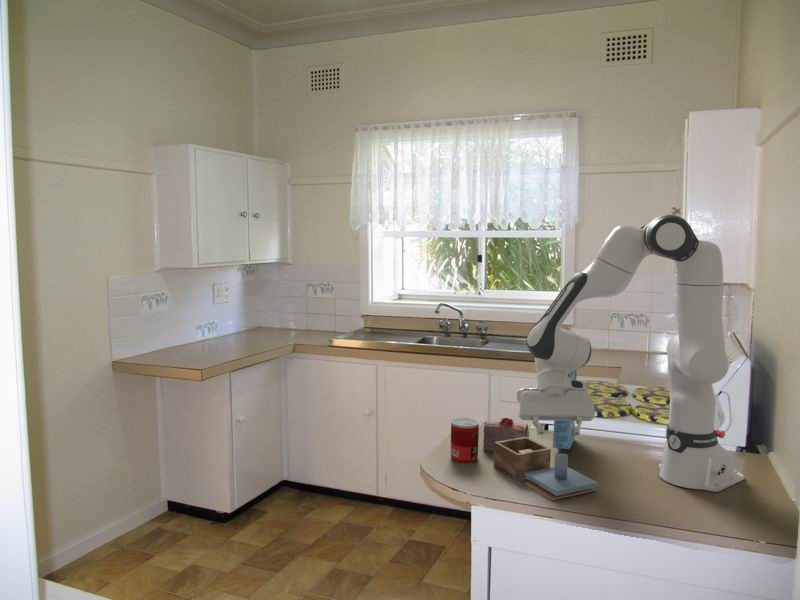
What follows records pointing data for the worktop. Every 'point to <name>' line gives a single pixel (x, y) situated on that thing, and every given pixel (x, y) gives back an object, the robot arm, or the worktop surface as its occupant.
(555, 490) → the lid
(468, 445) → the canned food
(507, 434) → the food item
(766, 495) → the worktop surface
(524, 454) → the crate
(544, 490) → the mat
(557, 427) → the blue box
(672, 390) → the robot arm
